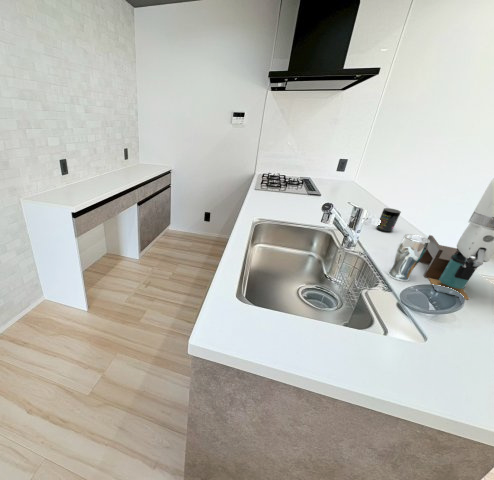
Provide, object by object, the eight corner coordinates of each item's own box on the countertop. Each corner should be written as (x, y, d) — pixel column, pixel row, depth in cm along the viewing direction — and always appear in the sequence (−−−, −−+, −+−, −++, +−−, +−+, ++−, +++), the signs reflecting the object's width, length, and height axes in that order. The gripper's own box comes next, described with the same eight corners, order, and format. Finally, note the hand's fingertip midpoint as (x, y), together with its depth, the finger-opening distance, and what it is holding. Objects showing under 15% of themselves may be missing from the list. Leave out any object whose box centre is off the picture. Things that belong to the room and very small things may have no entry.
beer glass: (410, 284, 87) (430, 245, 80) (384, 276, 91) (402, 238, 84) (411, 276, 91) (431, 238, 85) (387, 268, 95) (404, 231, 89)
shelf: (450, 267, 97) (465, 241, 93) (462, 286, 87) (480, 258, 82) (416, 260, 102) (429, 235, 97) (424, 276, 91) (439, 249, 86)
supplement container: (390, 234, 125) (399, 213, 120) (374, 229, 129) (382, 209, 124) (393, 230, 129) (402, 210, 124) (377, 226, 133) (385, 207, 129)
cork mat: (459, 286, 86) (460, 285, 86) (468, 299, 80) (469, 298, 80) (428, 279, 90) (429, 277, 90) (434, 291, 84) (435, 289, 84)
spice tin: (461, 281, 85) (475, 257, 81) (467, 291, 80) (483, 266, 76) (436, 275, 88) (449, 252, 84) (441, 284, 83) (455, 260, 79)
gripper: (523, 234, 66) (484, 291, 74) (494, 214, 79) (464, 264, 87) (482, 227, 69) (449, 282, 77) (461, 210, 83) (435, 258, 91)
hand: (457, 272), depth 82 cm, fingers closed on spice tin, 6 cm apart
